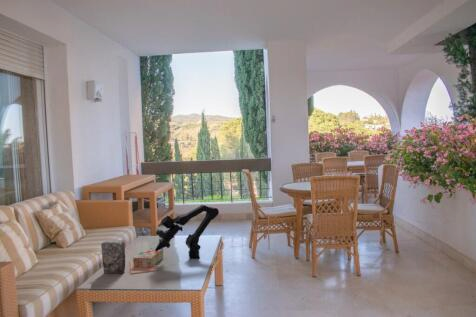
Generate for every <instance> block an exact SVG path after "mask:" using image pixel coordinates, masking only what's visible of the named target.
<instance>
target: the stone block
mask: <svg viewBox="0 0 476 317" xmlns="http://www.w3.org/2000/svg"><path fill="white" fill-rule="evenodd" d="M125 244H126V243H125V241H124V240H123V239H107V240H104V241H102V242H101V256H102V267H103V268H102V269H103V274H104V275H119V274H120V275H123V274H124V273H125V270H126V245H125Z"/></svg>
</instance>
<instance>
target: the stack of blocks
mask: <svg viewBox="0 0 476 317" xmlns="http://www.w3.org/2000/svg"><path fill="white" fill-rule="evenodd" d="M155 249H156V247H155V248H153V247H151V248H150V249H148V250H146V251H144V252H143V251H141V252H139V253H138V254H136V255H135V256H133V258H132V260H133V265H134V267H147V268H151V267H153V266H154V265H155V264H156V265H157V263H158V262H160V261H161V260H162V259H163V258H164V248H162V249H160V250H158V251H155Z"/></svg>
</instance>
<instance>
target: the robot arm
mask: <svg viewBox="0 0 476 317" xmlns="http://www.w3.org/2000/svg"><path fill="white" fill-rule="evenodd" d="M203 212H205V216H204V218H203V219H202V220H201V223H200V224H199V226H198V227H197V228H196V230H195V231H194V232H193V233H192V234H188V237H186V238H185V245H186V246H187V248H188V258H189V259H190V260H194V259H201V257H200V250H201V245H200V244H199V243H200V242H199V241H200V238H201V236H202V234H203V233H204V231H205V230H206V228H207V227H208V226H209V224H210V223H211V221H212V220H214V219H216V218H217V216H218V215H219V212H220V210H219V209H218V208H217V207H213V206H207V205H206V204H201V205H200V206H198V207H196V208H193V209H192V210H191V211H190V210H189V212H187V213H185V214H184V213H183V214H180V215H179V214H178V215H177V216H176V217H175V218H171V217H170V216H169V214H168V215H166V216H164V217H163V218H162V219H161V221H160V224H161V225H162V226H163V227H164V228H166V230H165V231H164V230H162V229H159V228H157V229H156V231H155V235H156V236H158V237H159V238H158V244H157V246H156V247H155V248H156V249H155V248H154V249H155V251H158V250H160V249H164V248H167V249H169V248H170V247H171V243H170V242H171V240H172V239H174V238H175V237H176V235H177V233H178V232H183V231H184V230H183V228H184V227H183V226H185V225H186V224H188V223H189V222H190V220H191V219H193V218H196V216H199V215H200V214H202V213H203ZM167 229H168V230H167Z"/></svg>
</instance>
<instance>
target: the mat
mask: <svg viewBox="0 0 476 317" xmlns="http://www.w3.org/2000/svg"><path fill="white" fill-rule="evenodd" d="M129 262H130V263H129V267H130V269H129V270H130V275H135V274H143V273H149V272H150V273H151V272H157V271H158V267H157V263H156V264H155V265H154V266H153V267H151V268H147V267H134V265H133V259H132V260H130V261H129Z"/></svg>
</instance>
